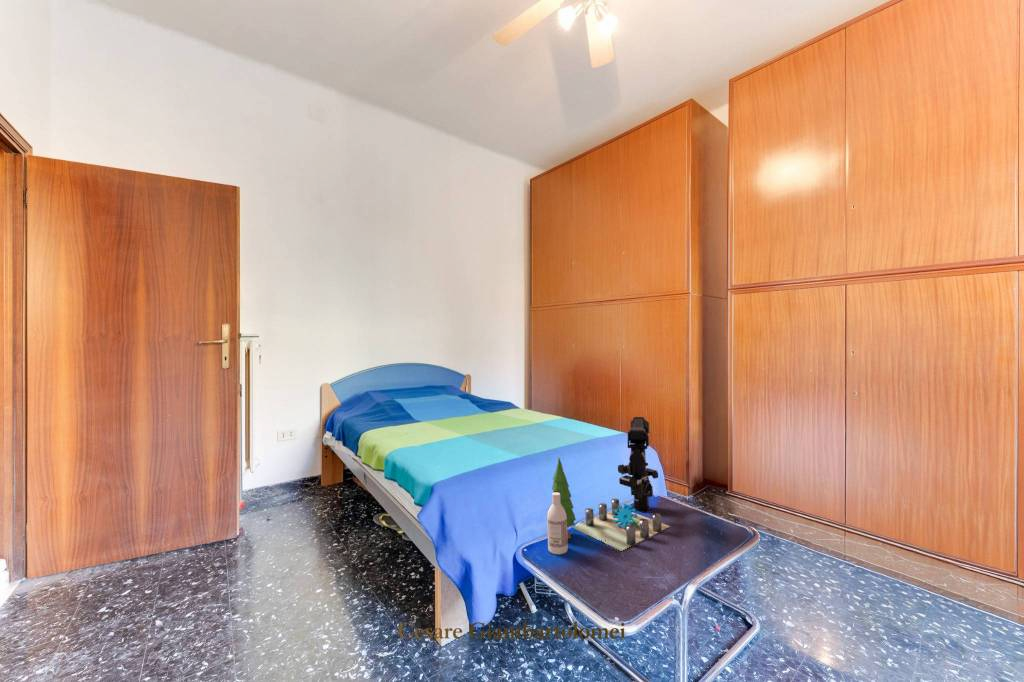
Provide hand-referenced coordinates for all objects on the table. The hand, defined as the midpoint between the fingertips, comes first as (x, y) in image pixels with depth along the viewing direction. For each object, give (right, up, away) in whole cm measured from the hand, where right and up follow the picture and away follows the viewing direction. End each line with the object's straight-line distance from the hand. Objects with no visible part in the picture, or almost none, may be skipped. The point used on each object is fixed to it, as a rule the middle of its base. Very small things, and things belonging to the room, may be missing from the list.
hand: (639, 498), depth 162 cm
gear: (-7, -9, -6) cm, 13 cm away
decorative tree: (-33, -10, -12) cm, 36 cm away
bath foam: (-36, -10, -22) cm, 44 cm away
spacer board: (-10, -9, -6) cm, 15 cm away
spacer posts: (-9, -9, -7) cm, 15 cm away
